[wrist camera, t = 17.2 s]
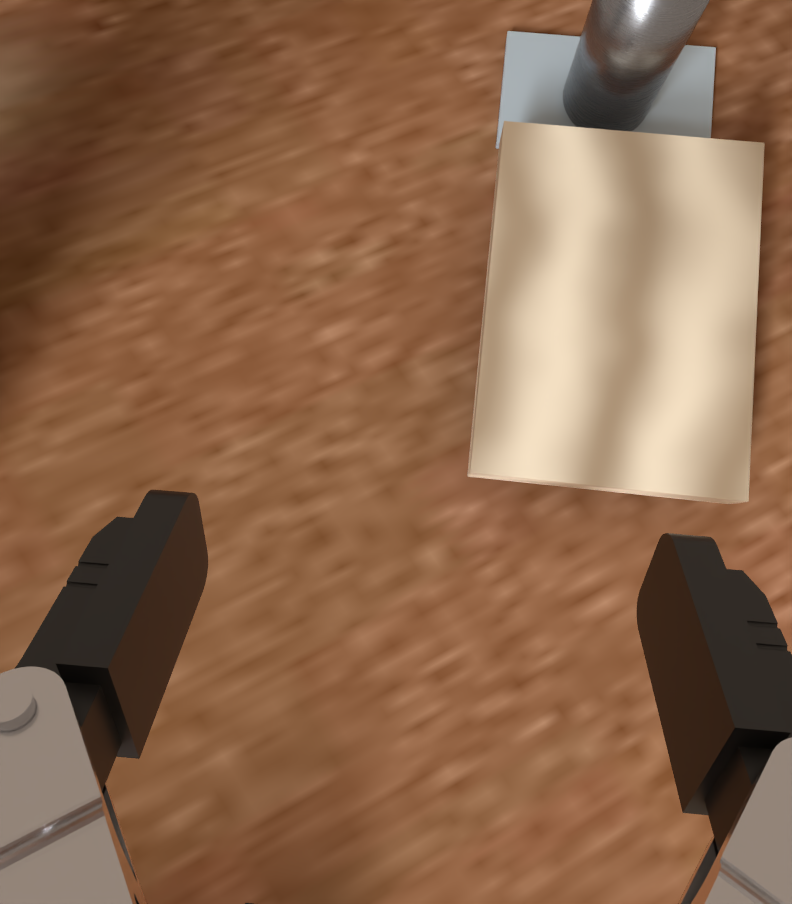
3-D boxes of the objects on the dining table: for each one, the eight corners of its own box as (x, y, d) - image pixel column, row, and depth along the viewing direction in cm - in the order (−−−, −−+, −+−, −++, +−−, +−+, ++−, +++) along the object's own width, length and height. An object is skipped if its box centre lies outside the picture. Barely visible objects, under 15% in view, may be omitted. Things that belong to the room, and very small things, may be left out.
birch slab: (463, 481, 38) (470, 472, 34) (493, 172, 41) (504, 120, 36) (704, 507, 38) (748, 501, 33) (721, 192, 40) (764, 142, 35)
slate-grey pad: (495, 148, 41) (496, 142, 40) (506, 38, 42) (507, 30, 41) (705, 166, 40) (709, 160, 40) (711, 54, 41) (715, 47, 41)
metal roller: (558, 133, 40) (604, 1, 30) (567, 52, 41) (615, -103, 31) (646, 142, 40) (722, 13, 30) (654, 61, 41) (731, -92, 31)
